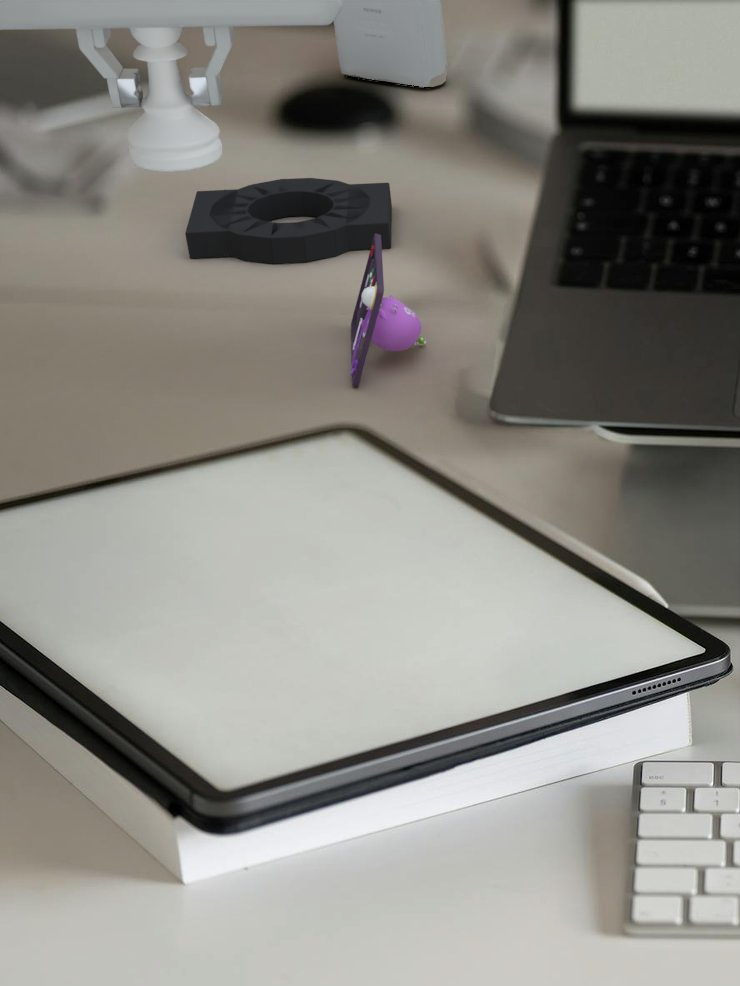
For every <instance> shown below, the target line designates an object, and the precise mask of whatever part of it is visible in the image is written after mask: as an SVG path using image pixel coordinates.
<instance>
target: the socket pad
mask: <svg viewBox="0 0 740 986" xmlns="http://www.w3.org/2000/svg"><path fill="white" fill-rule="evenodd" d="M390 187H391V185H390V182H372V183H351V184H349V183H347V182H344V181H341V180H335V179H325V178H317V177H316V178H315V177H300V178H299V177H297V178H280V179H274V180H269V181H263V182H257V183H252V184H249V185H248V184H247V185H246V186H243V187H241V188H238V189H237V188H235V189H215V190H197V191H196V193H195V197H194V200H193V203H192V208H191V211H190V215H189V219H188V223H187V225H186V230H185V240H186V245H187V250H188V256H189V258H190V259H206V258H208V259H209V258H226V257H227V258H228V257H232V258H235V259H239V260H241V261H245V262H254V263H262V264H272V265H275V264H276V265H277V264H294V263H308V262H309V263H310V262H313V261H319V260H323V259H327V258H332V257H337V256H339V255H342V254H344V253H346V252H348V251H360V250H362V251H363V250H371V246H372V242H373V238H374V235H375V234H379V235H381V245H382V249H391V248H392V225H393V224H392V220H393V219H392V218H393V215H392V214H393V213H392V212H393V205H392V195H391V188H390ZM288 217H311V218H310V219H306V220H301V221H295V222H294V221H292V222H291V221H290V222H275V221H272V220H278V219H282V218H288ZM312 217H313V218H312Z"/></svg>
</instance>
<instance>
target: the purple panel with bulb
mask: <svg viewBox="0 0 740 986" xmlns="http://www.w3.org/2000/svg"><path fill="white" fill-rule="evenodd" d="M383 265H384V264H383V248H382V245H381V235H379V234H375V235H374V238H373V242H372V246H371V249H369V254H368V257H367V262H366V265H365V268H364V269H365V270H364V273H363V276H362V280H361V284H360V288H359V291H358V296H357V299H356V303H355V306H354V311H353V315H352V318H351V322H350V354H351V357H350V358H351V359H350V361H351V362H350V363H351V369H350V376H351V386H353V387H359V385H360V383H361V382H360V381H361V378H362V375H363V371H364V367H365V365H366V360H367V356H368V352H369V349H370V345H371V342H372V343H373V344H374V345H376V346H377V347H378V348H380V349H382V350H385V351H388V352H402V351H405V350H406V351H407V350H409V349H410V348H412V347H413V345H415V344H416V346H418V345H421V347H423V346H424V345H425V344H427V341H426V339H425V338H424V337H423V336H421V333H422V323H421V320H420V318H419V316H418V315H417V314H416V313H415V312H414V311H413V310H412V309H410V308H409V307H408V306H407V305H406V304H405V303H403V302H401V301H400V300H398V299H396V298H395V297H394V296H393V294H391V295H389V297H388V296H387V297H384V294H385V283H384V282H385V281H384V267H383ZM362 337H363V342H362V346H361V348H360V352H359V346H360V343H361V340H362Z"/></svg>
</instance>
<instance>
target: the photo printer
mask: <svg viewBox="0 0 740 986" xmlns="http://www.w3.org/2000/svg"><path fill="white" fill-rule="evenodd" d="M443 23H444V22H443V11H442V1H441V0H344V3H343V7H342V10H341V11H340V13H339V14H338V15H337V17H336V18H335V19H334V21H333V27H334V36H335V43H336V50H337V57H338V63H339V64H338V65H339V69H340V73H341V75H343V74H348V75H356V76H360V77H363V78H367V79H372V80H374V79H376V80H377V79H388V80H389V81H390V80H392V81H395V82H397V83H400V84H401V83H403V84H408V85H410V84H411V85H412V86H411V87H414V86H419V87H418V88H424V87H428V86H429V85H430V83H429V82H430V80H431V79H432V78H434V77H436V76H438V75H441V74H442V73H444V71H445V67H446V66H447V67H448V61H447V50H446V49H447V48H446V42H445V31H444V24H443ZM372 80H371V81H372ZM400 84H399V85H400ZM413 85H414V86H413Z"/></svg>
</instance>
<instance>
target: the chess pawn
mask: <svg viewBox="0 0 740 986" xmlns="http://www.w3.org/2000/svg"><path fill="white" fill-rule="evenodd" d="M183 28H184V27H175V28H128V30H129V31H130V34H131V36H132V37H133V38H134V40H135V41H136V42H137V43H139V45H137V46H136V47H135V49H134V50H133V51H132V52H133V53H132V57H133V58H134V59H136V60H138V61H140V62H146V65H147V66H146V67H147V78H148V79H147V81H148V88H147V94H146V96H144V97H143V99H142V100H141V107H140V108H142V110H143V113H141V114H140V115H139V117H138V118H137V119H136V120H135V122H134V123H133V124H132V125H131V126H130V127H129V129H127V131H126V135H125V136H126V137H125V138H126V139H127V141H128V143H129V146H128V153H129V159H130V161H131V162H132V163H133V165H135V166H137V167H138V168H139V169H144V170H146V171H153V172H161V173H173V172H174V173H177V172H188V171H194V170H198V169H202V168H204V167H207V166H210V165H213V164H214V163H215V162H217V161H218V160H219V159H220V158H221V157H222V156H223V144H222V140H221V139H220V137H219V136H220V127H219V126H218V124H217V123H216V122H215V121H214V120H212V119H210V118H209V117H207V116H206V115H205V114H204V113H202V112H201V111H200V110H198V109H197V108H196V107H195V106H193V103H192V94H190V93H188V92H187V90H186V89H185V87H184V85H183V82H182V78H181V75H180V71H179V67H178V62H177V60H179V59H180V60H181V59H182V58H184V57H186V56H187V55H188V50H187V49H186V47H185V46H184V45H182V43H179V42H178V40H180V37H181V35H182V33H183Z"/></svg>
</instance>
